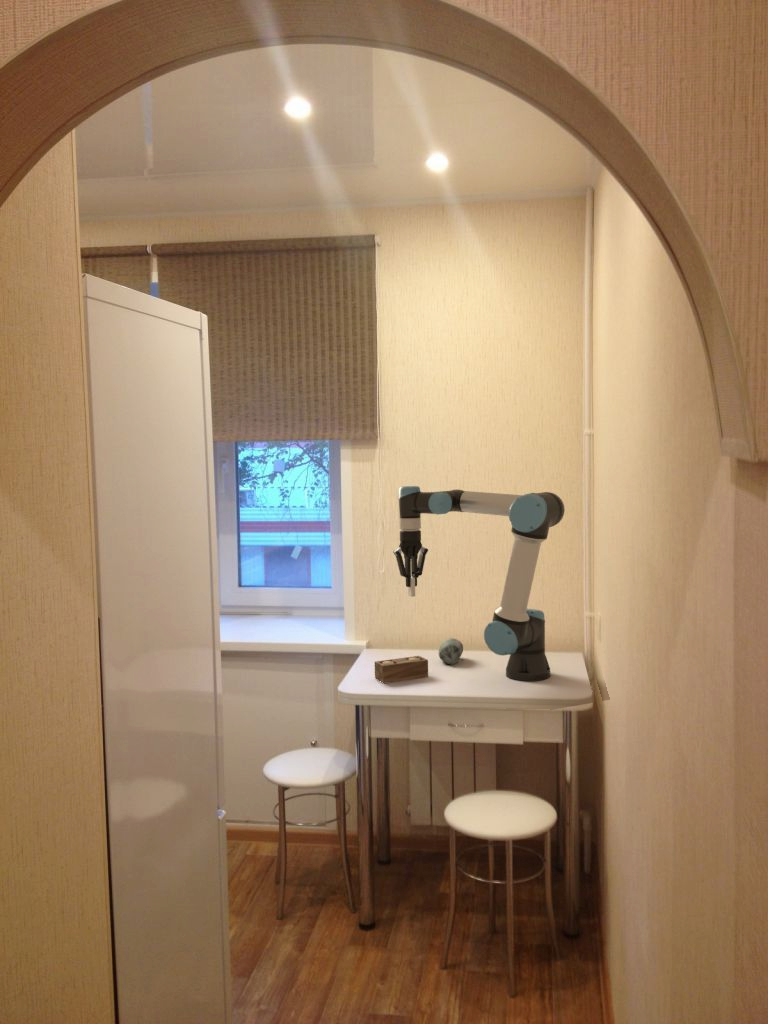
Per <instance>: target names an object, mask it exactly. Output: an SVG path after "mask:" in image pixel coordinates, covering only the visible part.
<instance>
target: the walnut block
mask: <svg viewBox="0 0 768 1024" xmlns="http://www.w3.org/2000/svg"><path fill="white" fill-rule="evenodd" d="M409 658H420V660H417V661H409ZM385 661H393V662H394V664H388V665H384V664H382V662H385ZM375 678H376V679H378V680H379V681H378V680H377V681H378V682H380V681H381V682H380V683H382V682H383V683H384V684H386V683H385V682H390V683H396V682H395V681H397V682H402V681H403V680H404V681H409V680H417V679H423V678H424V679H425V678H429V659H427V658H425V657H422V656H420V655H413V656H407V657H406V656H405V657H399V658H392V659H390V658H389V659H385V660H378V661H374V679H375ZM376 679H375V680H376ZM383 683H382V684H383Z"/></svg>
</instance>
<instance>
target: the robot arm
mask: <svg viewBox="0 0 768 1024" xmlns="http://www.w3.org/2000/svg"><path fill="white" fill-rule="evenodd" d="M397 499H398V509H399V510H398V511H399V521H398V522H399V529H400V531H399V542H400V543H399V545H398V547H397V549H394V550H393V552H392V553H393V554H394V556H395V559H396V562H397V563H396V564H397V566H398V569H399V574H400V576H401V577H402V578H405V586H406V588H407V596H408V597H416V587H417V586H418V578H419V576H422V574H423V571H424V565H425V562H426V561H425V560H426V556H427V553H428V552H429V549H428V548H426V547H424V546H423V544H422V542H421V541H422V531H421V528H422V525H421V524H422V521H421V520H422V519H421V515H422V514H426V515H427V514H428V515H431V514H432V515H436V516H437V515H446V514H448V513H449V512H450V513H453V512H458V513H469V514H479V515H480V514H483V515H493V516H500V517H502V516H503V517H508V519H509V522H510V523H511V531H510V532H511V534H512V535H513V537H514V539H513V544H512V549H511V554H510V558H509V563H508V568H507V573H506V578H505V582H504V586H503V587H504V588H503V592H502V596H501V601H500V605H499V606H498V607H496V608H495V609H494V612H493V615H492V621H491V622H488V623H487V625H486V626H485V628H484V630H483V631H484V632H483V639H484V642H485V644H486V645H487V648H488V649H489V650H490V651H491V652H493V653H494V654H495V655H499V656H509V658H508V661H507V665H506V667H505V676H506V677H507V678H509V679H512V680H514V681H515V680H516V681H524V682H530V681H531V682H532V681H533V682H534V681H541V680H546V679H547V680H548V679H549V678H550V677H551V668H550V665H549V661H548V658H547V655H546V627H545V625H546V618H545V613H544V611H542V610H540V609H534V608H528V605H529V599H530V596H531V590H532V586H533V581H534V578H535V572H536V567H537V564H538V558H539V554H540V549H541V545H542V542H544V541H546V540H547V539H548V535H549V530H550V528H551V527H554V526H556V525H558V524H559V523H560V522H561V521H562V519H563V518H564V515H565V504H564V502H563V500H562V499H561V497H560V496H558V495H557V494H556V493H554V492H551V491H549V492H548V491H545V492H530V493H526V494H513V493H512V494H511V493H510V494H509V493H499V492H498V493H496V492H483V491H469V490H463V489H452V490H451V489H450V490H442V491H441V490H440V491H431V492H430V491H428V492H427V491H425V492H423V491H421V488H420V486H416V485H413V486H412V485H408V486H407V485H406V486H401V487H399V489H398V498H397ZM402 554H403V556H402ZM403 558H404V560H403Z"/></svg>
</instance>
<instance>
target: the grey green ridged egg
mask: <svg viewBox="0 0 768 1024" xmlns="http://www.w3.org/2000/svg"><path fill="white" fill-rule="evenodd" d="M463 651H464V644H463V643H462V642H461V641H460V640H459V639H457V638H453V637H450V638H447V639H444V641H443V642H441V644H440V646H439V648H438V657H439V659H440V661H442V662H444V663H446V664H447V665H455V664H457V663H458V662H459V661H460V658H461V657H462V655H463Z"/></svg>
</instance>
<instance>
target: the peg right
mask: <svg viewBox="0 0 768 1024" xmlns="http://www.w3.org/2000/svg"><path fill="white" fill-rule="evenodd" d="M417 660H420V658H409V661H417Z"/></svg>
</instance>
